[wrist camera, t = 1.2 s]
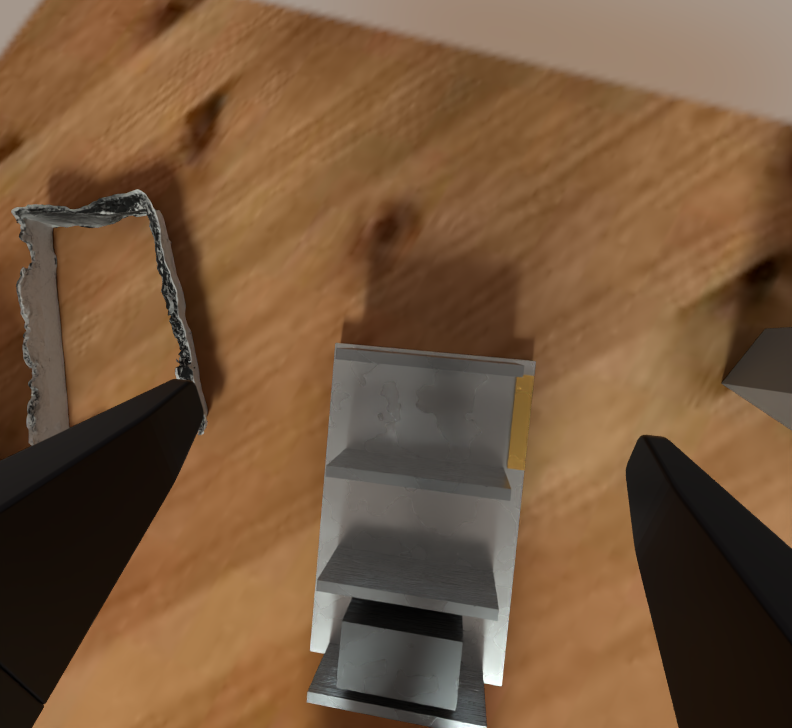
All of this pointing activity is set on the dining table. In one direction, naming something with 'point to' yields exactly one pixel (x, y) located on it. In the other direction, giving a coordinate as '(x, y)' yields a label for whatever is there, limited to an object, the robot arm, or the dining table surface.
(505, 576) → the rack
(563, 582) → the dining table surface
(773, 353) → the block
